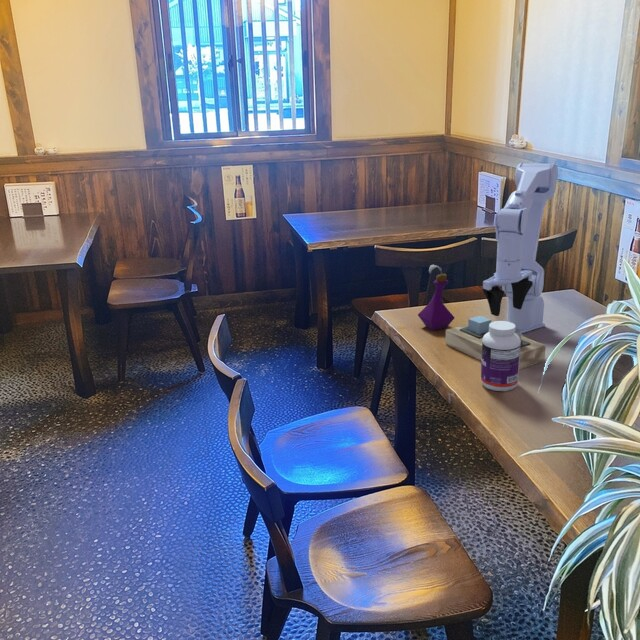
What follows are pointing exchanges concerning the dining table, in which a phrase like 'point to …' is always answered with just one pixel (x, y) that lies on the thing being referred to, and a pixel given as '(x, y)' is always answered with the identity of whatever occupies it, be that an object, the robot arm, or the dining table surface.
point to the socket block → (473, 345)
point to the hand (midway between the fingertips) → (506, 311)
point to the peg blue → (479, 324)
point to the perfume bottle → (437, 306)
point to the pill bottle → (500, 357)
